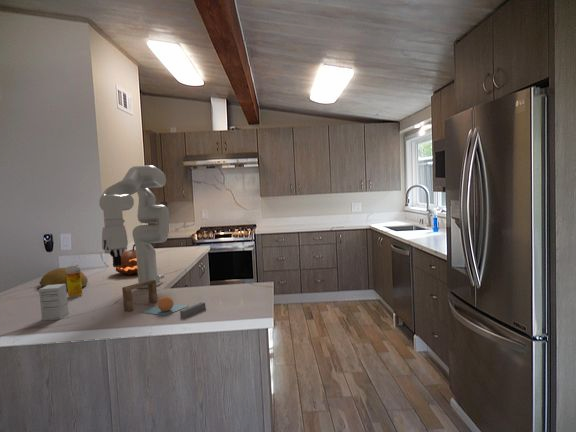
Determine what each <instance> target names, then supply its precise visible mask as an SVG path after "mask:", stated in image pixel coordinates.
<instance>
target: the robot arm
mask: <svg viewBox="0 0 576 432" xmlns="http://www.w3.org/2000/svg"><path fill="white" fill-rule="evenodd" d="M166 183H167V177H166V174H165V173H164V171H162V170H161V169H159V168H158V167H156V166H155V165H151V164H149V165H137V166H132V167H130V168H129V169H128V171H127V172H126V174H125V175H124V177H123V178H122V179H121V180H120V181H118V182H115V183H114V184H112V185H110V186H109V187H107V188H106V189H104V191H103V193H102V194H101V196H100V198H99V205H98V206H99V207H100V209H101V210H102V211H103V221H104V222H103V223H104V227H102V231H101V232H102V233H101V246H102V247H101V248H102V250H103V251H104V254H107V255H108V254H109V255H110V257H112V266H113V265H115V266H119V265H121V256H122V253H123V251H128V245H129V244H128V243H129V241H128V235H127V229H126V227H125V225H124V223H126V221H125V219H124V216H123V211H129V210H131V209H132V208H133V207H134V205H135V201H134V198H133V195H134V194H136V193H137V197H138V205H137V220H138V222H139V223H141V224H142V225H141V224H140V225H137V226H135V227H134V228H133V229H132V239H133V242H134V244H135V247H134V249H135V250H136V258H137V270H138V274H137V280H138V282H137V283H141V282H144V281H148V280H156V287H157V286H160V285H161V284H162V281H160V280H162V279H165V275H164V274H158V268H157V267H158V266H157V254H156V253H157V252H156V249H155V248H154V246H153V245H152V244H157V243H165V242H166V241H167V240H168V237H169V226H170V225H169V224H170V212H169V211H170V210H169V208H168V207H167V206H166V205H165V204H156V201H157V197H156V196H155V194H154V193H153V192H152V191H151V190H150V189H153V188H154V189H155V188H163V187H164V186H165V185H166ZM139 289H148V285H147V286H143V287H140V288H139Z"/></svg>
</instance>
